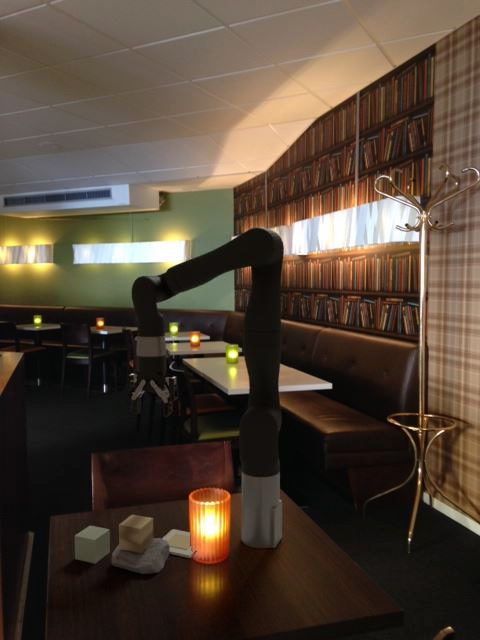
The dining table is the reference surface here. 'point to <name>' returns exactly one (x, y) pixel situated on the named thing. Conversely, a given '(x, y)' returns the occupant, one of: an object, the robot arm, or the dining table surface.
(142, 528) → the maple cube
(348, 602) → the dining table surface
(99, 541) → the sage green cube
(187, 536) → the card
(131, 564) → the stone block
